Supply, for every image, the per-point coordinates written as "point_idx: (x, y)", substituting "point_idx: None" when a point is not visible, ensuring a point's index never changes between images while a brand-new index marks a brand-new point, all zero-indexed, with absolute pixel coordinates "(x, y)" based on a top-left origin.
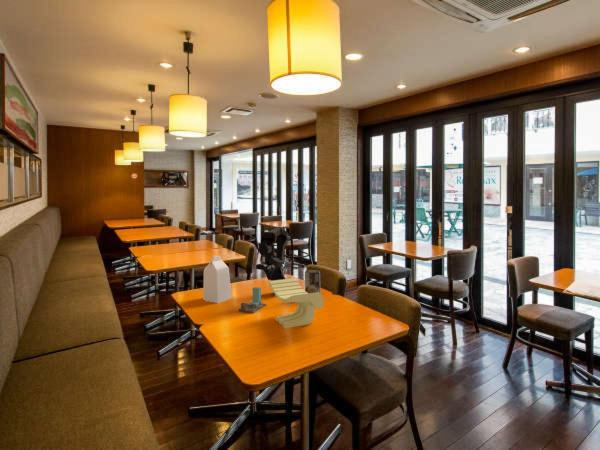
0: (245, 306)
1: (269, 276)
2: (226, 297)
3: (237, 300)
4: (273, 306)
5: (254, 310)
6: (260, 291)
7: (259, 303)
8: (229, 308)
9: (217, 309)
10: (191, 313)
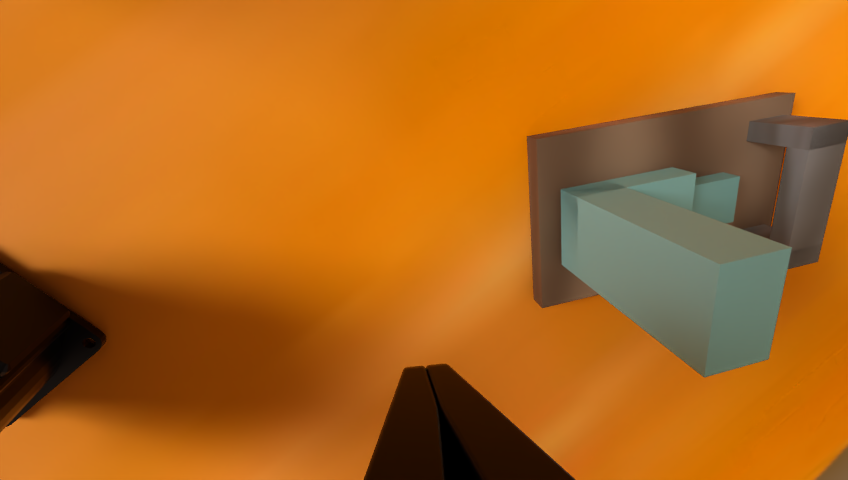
0: None
1: (522, 433)
2: None
3: None
4: (516, 31)
5: (769, 101)
6: (681, 236)
7: (603, 184)
8: None
9: (741, 402)
10: (835, 452)
